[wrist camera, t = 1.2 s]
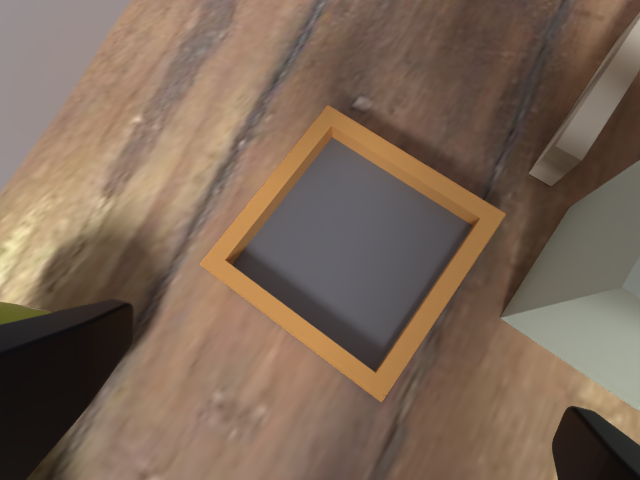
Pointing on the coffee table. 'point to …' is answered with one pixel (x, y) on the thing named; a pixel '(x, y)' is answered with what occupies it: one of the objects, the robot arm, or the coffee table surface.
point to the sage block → (590, 288)
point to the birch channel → (591, 108)
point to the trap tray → (354, 248)
